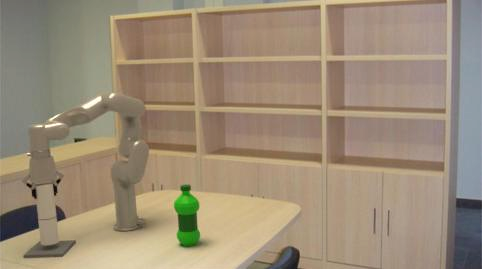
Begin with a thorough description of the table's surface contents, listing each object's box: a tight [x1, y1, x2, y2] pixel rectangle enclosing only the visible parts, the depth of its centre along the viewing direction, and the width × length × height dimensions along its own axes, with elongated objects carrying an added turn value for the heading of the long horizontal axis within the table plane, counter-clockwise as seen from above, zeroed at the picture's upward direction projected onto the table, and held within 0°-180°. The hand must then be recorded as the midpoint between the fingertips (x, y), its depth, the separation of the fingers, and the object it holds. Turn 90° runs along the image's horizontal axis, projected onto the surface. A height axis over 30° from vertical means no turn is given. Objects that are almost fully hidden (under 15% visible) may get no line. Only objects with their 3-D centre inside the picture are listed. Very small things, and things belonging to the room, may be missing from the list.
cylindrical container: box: [35, 181, 60, 245], centre depth 221 cm, size 7×7×25 cm
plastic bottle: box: [173, 184, 201, 247], centre depth 221 cm, size 10×10×25 cm
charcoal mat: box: [23, 239, 77, 259], centre depth 223 cm, size 16×16×1 cm
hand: (45, 196), depth 220 cm, fingers closed on cylindrical container, 7 cm apart
